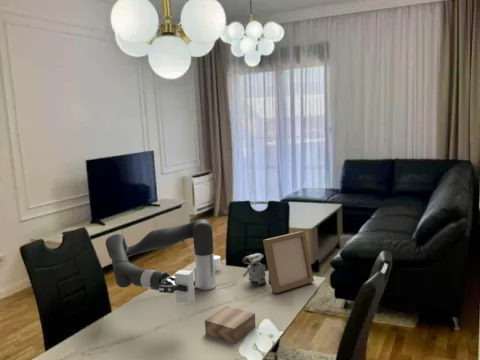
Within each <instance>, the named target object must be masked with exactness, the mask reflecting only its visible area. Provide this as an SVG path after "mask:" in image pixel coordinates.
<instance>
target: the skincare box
mask: <svg viewBox="0 0 480 360" xmlns="http://www.w3.org/2000/svg"><path fill="white" fill-rule="evenodd" d="M174 276H175V284H178V285H185V286H187V288H188V291H187V292H183V291H175V298H176V304H181V305H182V304H184V305H191V304H192V303H193V302H195V301H196V296H195V286H194V281H195V279H194V271H193V270H185V269H179V270H177V271H176V272H175V273H174Z"/></svg>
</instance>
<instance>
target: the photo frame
mask: <svg viewBox="0 0 480 360" xmlns="http://www.w3.org/2000/svg"><path fill="white" fill-rule="evenodd" d="M262 243H263V248H264V255H265V259H266V267H267V271H268V276H267V277H268V283H269V284H270V288H271V292H272V293H276V294H280V293H282V292H284V291H285V292H286V291H288V290H291V289H294V288H297V287H301V286H304V285H305V286H306V285H307V284H311V283H313V282H315V280H314V274H313V269H312V268H313V267H312V264H311V258H310V253H309V248H308V242H307V237H306V231H305V230H303V231H295V232H292V233H287V234H283V235H279V236H274V237H270V238H266V239H262Z"/></svg>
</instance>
